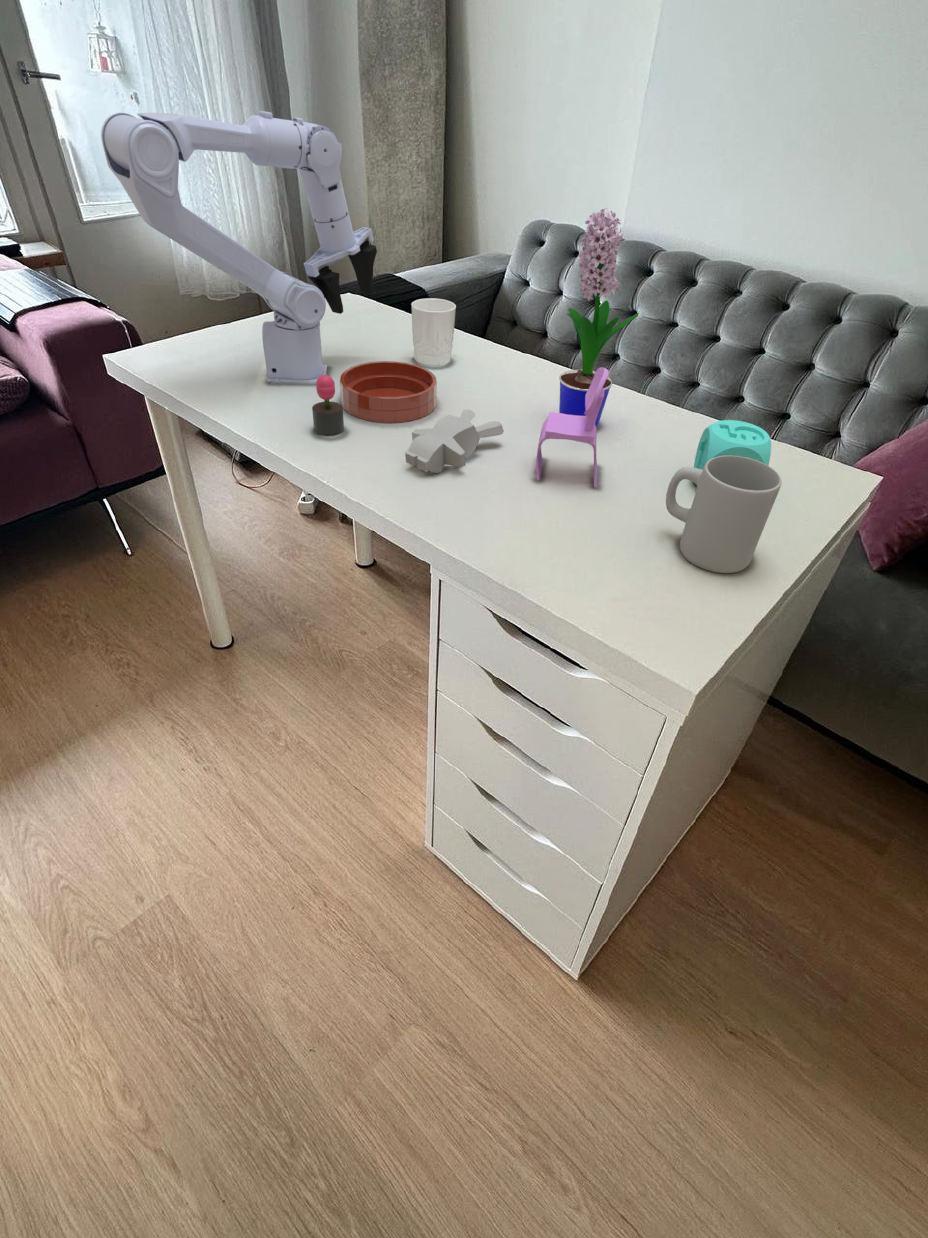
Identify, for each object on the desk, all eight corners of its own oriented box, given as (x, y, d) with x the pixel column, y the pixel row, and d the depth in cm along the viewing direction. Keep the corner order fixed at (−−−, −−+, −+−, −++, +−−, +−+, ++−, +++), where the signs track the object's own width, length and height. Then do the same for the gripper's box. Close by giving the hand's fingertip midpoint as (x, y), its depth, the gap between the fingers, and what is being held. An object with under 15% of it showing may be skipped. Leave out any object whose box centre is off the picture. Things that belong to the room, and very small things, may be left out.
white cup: (452, 370, 122) (455, 313, 116) (409, 368, 122) (409, 310, 116) (454, 355, 128) (456, 299, 122) (413, 352, 128) (413, 296, 122)
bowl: (339, 425, 103) (337, 397, 100) (344, 386, 114) (342, 359, 111) (438, 427, 104) (439, 399, 102) (433, 388, 116) (434, 361, 113)
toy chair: (537, 456, 99) (551, 353, 89) (597, 463, 98) (618, 360, 88) (532, 483, 93) (547, 376, 83) (596, 492, 92) (618, 384, 82)
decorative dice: (690, 468, 99) (706, 416, 93) (746, 475, 98) (765, 423, 93) (695, 495, 93) (712, 441, 87) (755, 503, 92) (775, 449, 87)
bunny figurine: (389, 435, 93) (461, 393, 100) (393, 467, 96) (462, 424, 104) (440, 459, 88) (511, 413, 96) (442, 491, 92) (510, 445, 99)
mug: (760, 551, 83) (793, 471, 76) (734, 583, 78) (767, 500, 70) (670, 515, 88) (693, 438, 81) (641, 543, 83) (663, 462, 76)
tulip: (313, 439, 99) (307, 381, 93) (315, 426, 103) (310, 369, 97) (343, 439, 100) (339, 381, 94) (345, 426, 103) (341, 369, 97)
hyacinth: (613, 440, 104) (661, 219, 84) (548, 431, 105) (579, 211, 86) (615, 417, 111) (659, 207, 91) (553, 409, 112) (584, 199, 92)
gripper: (317, 236, 100) (341, 325, 111) (379, 200, 107) (396, 287, 117) (285, 231, 103) (311, 317, 114) (347, 196, 110) (366, 280, 121)
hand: (352, 301), depth 116 cm, fingers open, 7 cm apart
